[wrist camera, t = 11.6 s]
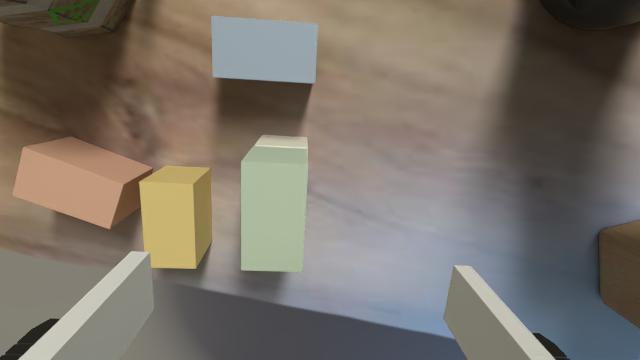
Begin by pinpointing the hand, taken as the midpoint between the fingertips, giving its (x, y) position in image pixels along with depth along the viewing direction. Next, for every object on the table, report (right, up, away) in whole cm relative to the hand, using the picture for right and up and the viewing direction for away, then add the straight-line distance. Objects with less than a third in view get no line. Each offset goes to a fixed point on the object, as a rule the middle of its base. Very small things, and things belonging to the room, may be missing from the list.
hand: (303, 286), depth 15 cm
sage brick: (-3, +4, +15) cm, 15 cm away
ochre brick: (-13, +2, +21) cm, 24 cm away
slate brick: (-4, +16, +17) cm, 24 cm away
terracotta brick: (-21, +5, +19) cm, 29 cm away
